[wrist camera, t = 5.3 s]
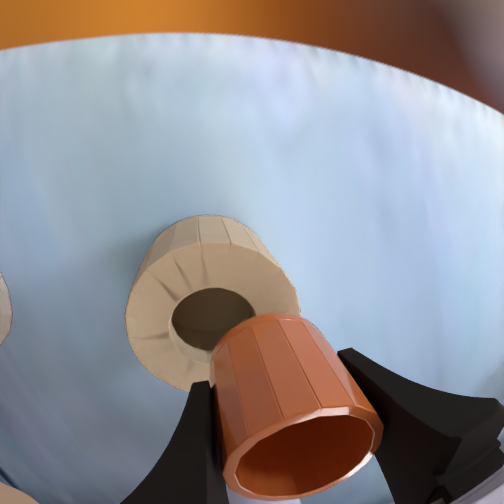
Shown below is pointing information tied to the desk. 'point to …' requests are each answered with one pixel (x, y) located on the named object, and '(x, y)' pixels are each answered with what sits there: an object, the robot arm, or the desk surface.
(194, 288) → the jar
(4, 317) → the french press
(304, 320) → the cup
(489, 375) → the desk surface
